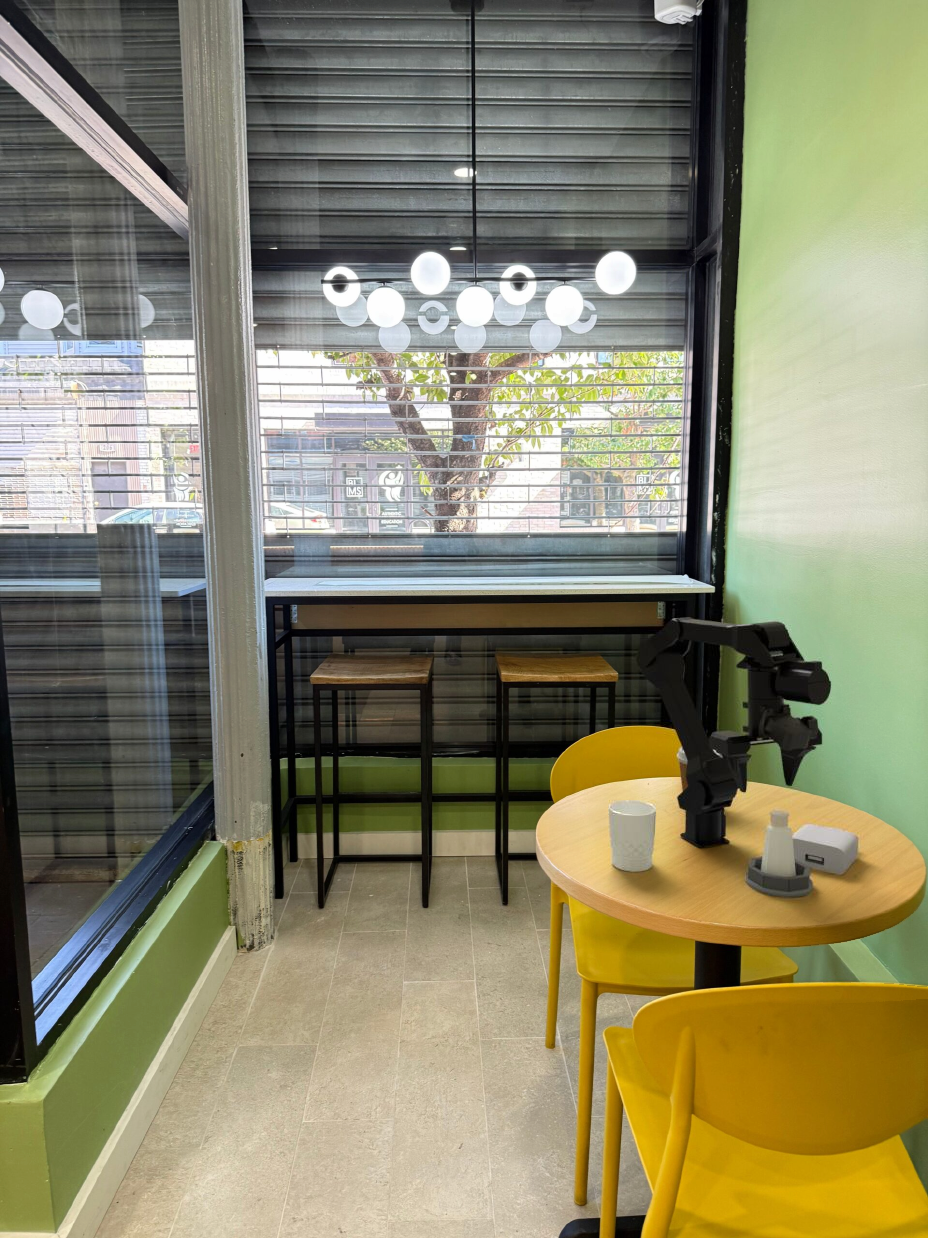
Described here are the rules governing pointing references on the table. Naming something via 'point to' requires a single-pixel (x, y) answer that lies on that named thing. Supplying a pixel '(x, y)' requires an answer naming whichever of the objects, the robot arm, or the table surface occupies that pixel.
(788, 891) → the grey octagonal tray
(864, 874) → the table surface
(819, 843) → the charger
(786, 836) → the pepper shaker
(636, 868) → the white cup
